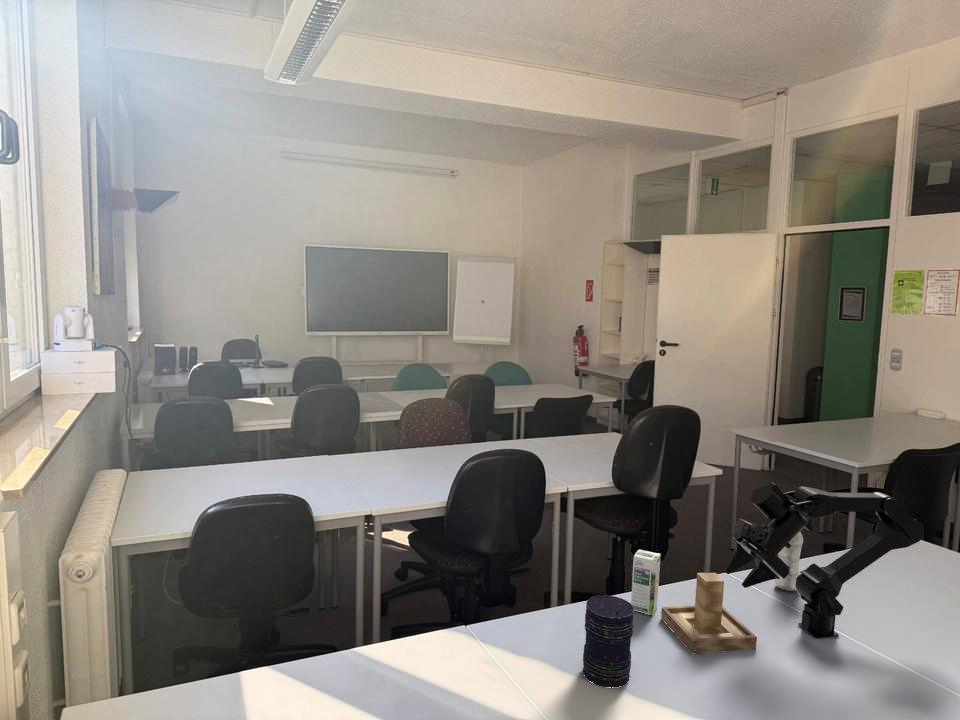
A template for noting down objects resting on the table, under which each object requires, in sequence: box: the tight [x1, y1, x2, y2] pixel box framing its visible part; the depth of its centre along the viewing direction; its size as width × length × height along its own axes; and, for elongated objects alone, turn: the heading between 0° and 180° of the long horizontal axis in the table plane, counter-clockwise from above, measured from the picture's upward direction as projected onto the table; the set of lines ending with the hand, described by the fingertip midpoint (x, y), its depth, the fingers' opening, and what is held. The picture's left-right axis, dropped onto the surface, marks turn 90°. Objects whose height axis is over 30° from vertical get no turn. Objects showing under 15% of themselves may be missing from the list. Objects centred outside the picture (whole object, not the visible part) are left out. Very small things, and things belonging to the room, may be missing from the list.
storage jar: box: [582, 594, 635, 689], centre depth 133 cm, size 10×10×15 cm
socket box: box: [660, 605, 758, 654], centre depth 152 cm, size 16×16×3 cm
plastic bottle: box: [773, 531, 804, 592], centre depth 177 cm, size 6×7×20 cm
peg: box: [693, 572, 725, 635], centre depth 151 cm, size 4×4×14 cm
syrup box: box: [630, 549, 661, 616], centre depth 162 cm, size 6×6×14 cm
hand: (734, 578), depth 151 cm, fingers open, 9 cm apart
